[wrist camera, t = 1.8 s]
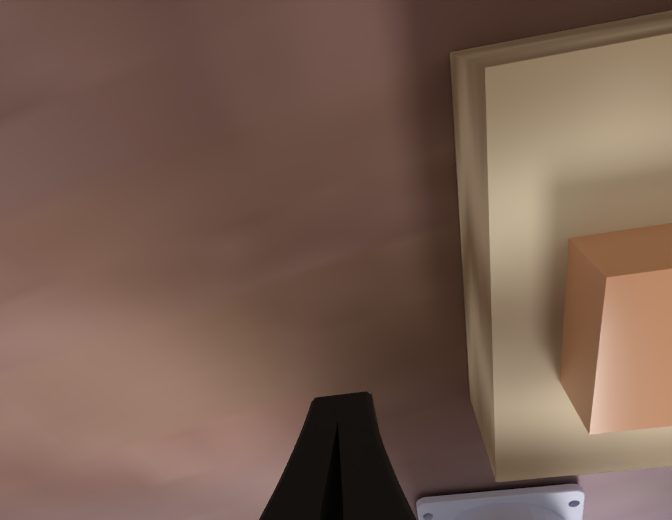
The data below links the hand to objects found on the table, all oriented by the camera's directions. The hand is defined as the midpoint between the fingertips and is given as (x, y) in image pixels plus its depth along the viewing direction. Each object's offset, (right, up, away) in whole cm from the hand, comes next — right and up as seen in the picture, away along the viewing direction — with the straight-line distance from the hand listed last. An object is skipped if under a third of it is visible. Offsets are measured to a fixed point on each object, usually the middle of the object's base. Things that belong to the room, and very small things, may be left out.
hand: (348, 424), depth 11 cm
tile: (+9, +3, +2) cm, 9 cm away
